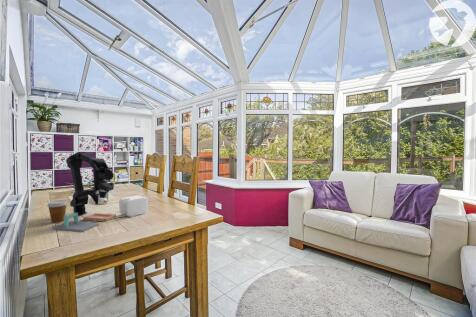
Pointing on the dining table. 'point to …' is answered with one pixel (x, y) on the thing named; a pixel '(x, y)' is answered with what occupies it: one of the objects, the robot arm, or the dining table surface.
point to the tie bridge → (75, 215)
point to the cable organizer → (133, 205)
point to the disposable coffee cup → (57, 210)
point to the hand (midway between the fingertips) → (99, 203)
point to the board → (77, 226)
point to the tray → (100, 217)
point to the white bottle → (100, 201)
